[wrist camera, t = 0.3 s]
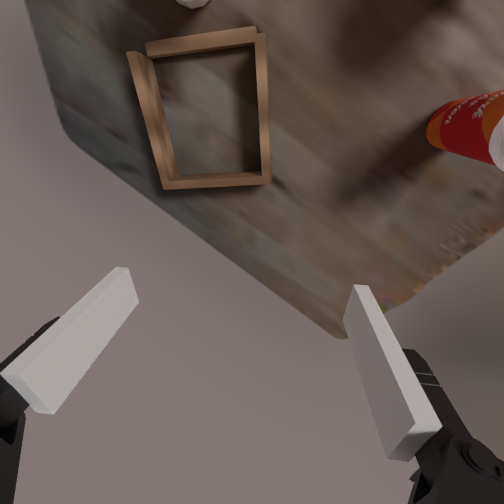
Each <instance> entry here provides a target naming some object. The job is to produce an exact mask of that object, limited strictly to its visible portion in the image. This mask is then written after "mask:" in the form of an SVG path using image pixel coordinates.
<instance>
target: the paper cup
mask: <svg viewBox="0 0 504 504" xmlns="http://www.w3.org/2000/svg"><path fill="white" fill-rule="evenodd" d="M426 137H427V140H428V142H429V143H430V144H431V145H433V146H434V147H437V148H439V149H442V150H446V151H449V152H452V153H455V154H459V155H462V156H465V157H469V158H472V159H476V160H479V161H482V162H486V163H489V164H493V165H496V166H497V167H498V168H499V169H500V170H502V171H504V90H501V91H496V92H491V93H486V94H482V95H477V96H472V97H468V98H463V99H459V100H455V101H452V102H449V103H447V104H445V105H443V106H442V107H441V108H439V109H438V110H437V111H436V112H435V113H434V114H433V116H432V117H431V119H430V120H429V123H428V125H427V129H426Z"/></svg>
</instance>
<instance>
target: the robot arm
mask: <svg viewBox="0 0 504 504" xmlns="http://www.w3.org/2000/svg"><path fill="white" fill-rule="evenodd" d="M138 303H139V301H138V297H137V294H136V291H135V288H134V285H133V282H132V279H131V276H130V272H129V269H128V268H123V267H115V269H113V270H112V271H111V272H110V273H109V274H108V275H107V276H105V278H103V279H102V280H101V281H100V282H99V283H98V284H97V285H96V286H95V287H93V289H91V290H90V291H89V292H88V293H87V294H86V295H85V296H84V297H83V298H81V299H80V300H79V301H78V302H77V303H76V304H75V305H74V306H73V307H72V308H70V309H69V310H68V311H67V312H66V313H65V314H64V315H63V316H62V317H57V318H55V319H53V320H51V321H50V322H48V323H47V324H45V325H44V326H42V327H41V328H40V329H39V330H38V331H37V332H36V333H35V334H34V336H31V337H30V338H29V339H28V340H27V341H26V342H25V343H24V344H22V345H21V346H20V347H19V348H17V349H16V350H15V351H14V352H13V353H12V354H11V355H10V356H8V357H7V358H6V359H5V360H4V361H3V362H2V363H0V504H13V500H14V494H15V487H16V481H17V474H18V467H19V460H20V454H21V447H22V440H23V433H24V427H25V419H26V417H25V413H24V411H25V409H26V408H27V407H28V406H29V405H30V406H31V407H32V408H33V409H34V410H35V411H36V412H37V413H44V414H52V415H53V414H55V412H56V411H57V410H58V408H59V407H60V405H61V404H62V403H63V402H64V400H65V399H66V398H67V396H68V395H69V394H70V392H71V391H72V390H73V388H74V387H75V386H76V385H77V383H78V382H79V381H80V379H81V378H82V377H83V375H84V374H85V373H86V371H87V370H88V369H89V367H90V366H91V365H92V363H93V362H94V361H95V360H96V358H97V357H98V356H99V354H100V353H101V352H102V350H103V349H104V348H105V346H106V345H107V344H108V342H109V341H110V340H111V338H112V337H113V336H114V334H115V333H116V332H117V330H118V329H119V328H120V327H121V325H122V324H123V323H124V321H125V320H126V319H127V317H128V316H129V315H130V313H131V312H132V311H133V309H134V308H135V307H136V305H137V304H138ZM343 322H344V326H345V329H346V332H347V335H348V338H349V341H350V345H351V348H352V350H353V354H354V357H355V360H356V363H357V367H358V370H359V373H360V376H361V379H362V382H363V386H364V389H365V392H366V395H367V398H368V402H369V405H370V408H371V411H372V414H373V418H374V420H375V424H376V426H377V430H378V433H379V436H380V440H381V443H382V446H383V449H384V452H385V455H386V459H391V460H399V461H407V462H409V461H410V460H411V459H412V458H413V457H414V456H416V459H417V461H418V463H419V466H420V468H419V469H418V470H417V471H416V472H415V473H414V474H413V475H412V476H411V477H410V480H411V481H412V482H414V485H413V488H412V491H411V495H410V498H409V501H408V504H504V462H503V461H502V460H500V459H498V458H497V457H496V456H495V455H494V454H493V452H492V451H490V449H488V448H487V447H486V446H485V445H483V444H482V443H481V442H480V441H478V440H476V439H474V438H473V437H472V436H471V435H470V433H469V432H468V430H467V429H466V427H465V425H464V424H463V422H462V420H461V419H460V417H459V416H458V414H457V412H456V410H455V409H454V407H453V406H452V404H451V402H450V400H449V399H448V397H447V395H446V394H445V392H444V391H443V389H442V388H441V387H440V384H439V382H438V381H437V379H436V377H435V376H434V375H433V373H432V371H431V369H430V367H429V366H428V364H427V362H426V361H425V360H424V359H423V358H422V357H421V356H420V355H419V354H418V353H417V352H416V351H415V350H411V349H401V347H400V345H399V343H398V341H397V339H396V338H395V336H394V334H393V332H392V330H391V328H390V326H389V325H388V323H387V321H386V319H385V317H384V315H383V313H382V311H381V309H380V307H379V305H378V304H377V302H376V300H375V298H374V296H373V294H372V292H371V290H370V289H369V287H368V286H366V285H353V288H352V291H351V295H350V298H349V301H348V304H347V307H346V311H345V314H344V317H343Z"/></svg>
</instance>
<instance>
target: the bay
mask: <svg viewBox="0 0 504 504" xmlns="http://www.w3.org/2000/svg"><path fill="white" fill-rule="evenodd" d="M144 44H145V49H146V53H147V56H145V55H143V54H141V53H139V52H137V51H130V52H126V54H127V58H128V61H129V65H130V69H131V72H132V76H133V80H134V83H135V87H136V91H137V95H138V98H139V102H140V106H141V109H142V113H143V117H144V120H145V124H146V128H147V131H148V135H149V139H150V142H151V146H152V150H153V153H154V157H155V161H156V164H157V168H158V172H159V175H160V179H161V183H162V187H163V190H170V189H188V188H207V187H225V186H243V185H262V184H271V178H272V177H271V148H270V119H269V90H268V61H267V41H266V34H265V33H258V34H257V30H256V26H250V27H243V28H237V29H230V30H223V31H216V32H209V33H202V34H195V35H188V36H181V37H174V38H168V39H161V40H154V41H147V42H144ZM250 45H255V58H256V76H257V94H258V113H259V131H260V149H261V168H262V171H247V172H231V173H215V174H199V175H183V176H179V174H178V170H177V165H176V161H175V157H174V152H173V148H172V144H171V139H170V135H169V131H168V126H167V122H166V118H165V113H164V109H163V105H162V100H161V96H160V92H159V87H158V83H157V79H156V74H155V70H154V66H153V61H152V59H153V58H160V57H168V56H175V55H183V54H190V53H198V52H205V51H213V50H220V49H228V48H235V47H242V46H250Z"/></svg>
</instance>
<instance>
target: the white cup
mask: <svg viewBox="0 0 504 504" xmlns="http://www.w3.org/2000/svg"><path fill="white" fill-rule="evenodd" d="M176 1H177V2H178V3H179V4H181V5H184V6H186V7H188V8H191V9H193V8H198V7H202V6H204V5H205V4H206V3H207V2H208V1H209V0H176Z"/></svg>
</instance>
